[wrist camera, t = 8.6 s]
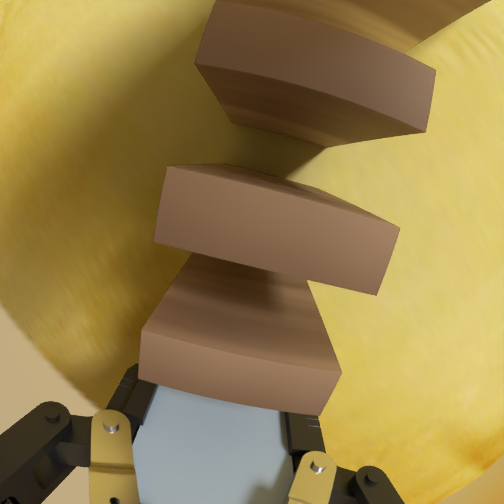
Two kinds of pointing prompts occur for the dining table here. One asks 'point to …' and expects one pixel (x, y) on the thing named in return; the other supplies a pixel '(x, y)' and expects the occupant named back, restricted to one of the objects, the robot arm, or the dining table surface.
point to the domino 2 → (273, 226)
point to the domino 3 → (240, 338)
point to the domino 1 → (310, 78)
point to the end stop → (377, 16)
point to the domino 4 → (211, 452)
